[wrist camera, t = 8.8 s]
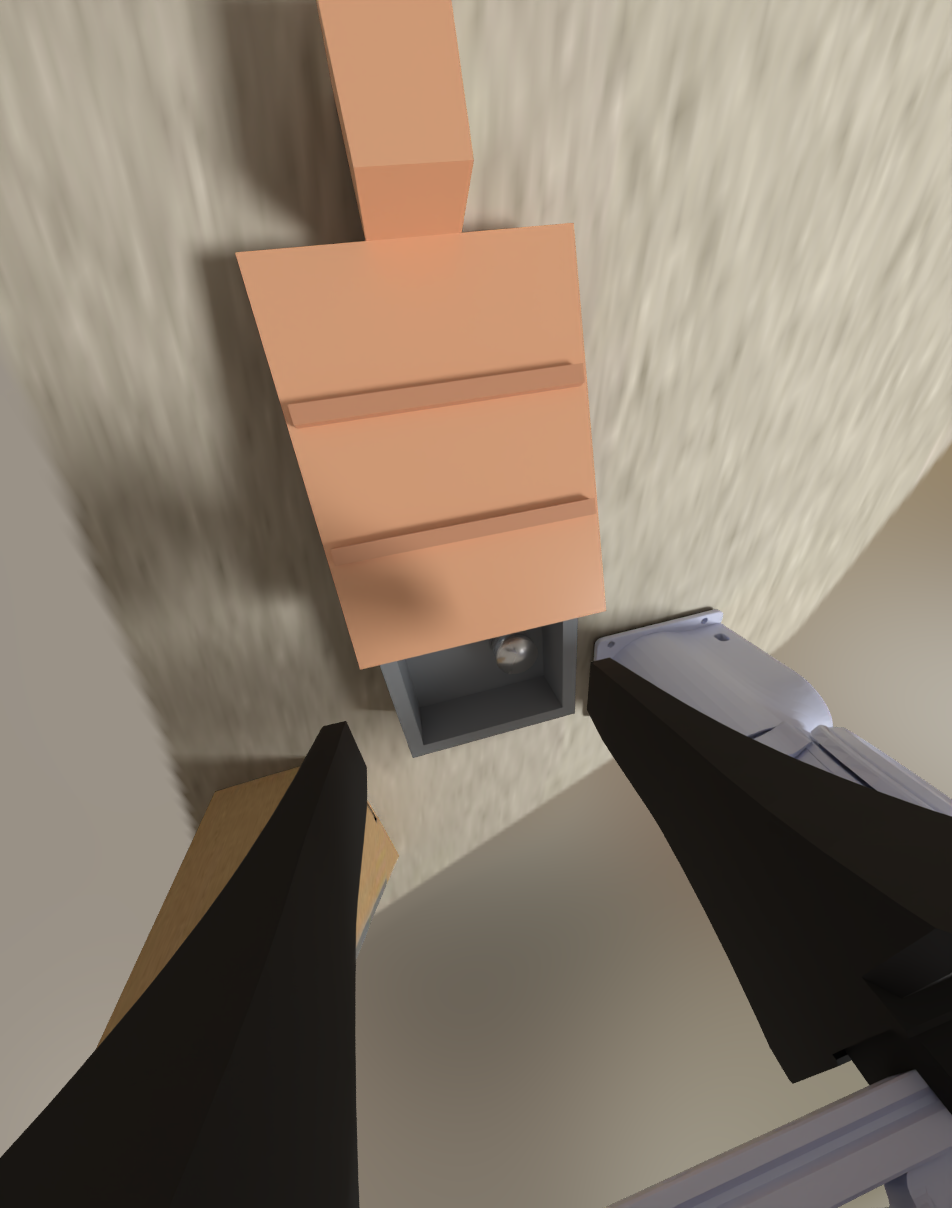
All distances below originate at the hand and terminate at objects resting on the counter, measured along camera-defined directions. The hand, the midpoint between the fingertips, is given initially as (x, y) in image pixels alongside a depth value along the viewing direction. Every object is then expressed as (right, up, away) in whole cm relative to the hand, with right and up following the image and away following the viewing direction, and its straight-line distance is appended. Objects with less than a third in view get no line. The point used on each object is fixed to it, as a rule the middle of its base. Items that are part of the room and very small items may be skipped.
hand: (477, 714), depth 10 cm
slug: (+2, +1, +11) cm, 11 cm away
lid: (-1, +10, +3) cm, 11 cm away
